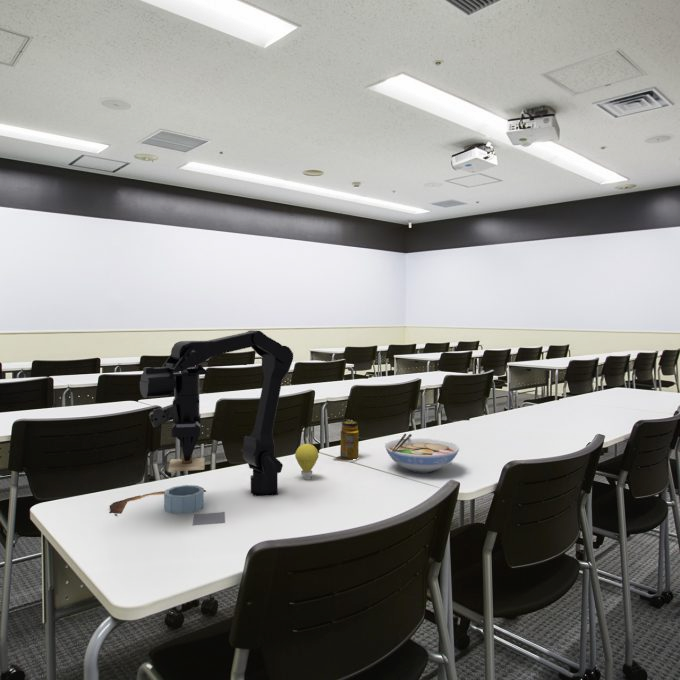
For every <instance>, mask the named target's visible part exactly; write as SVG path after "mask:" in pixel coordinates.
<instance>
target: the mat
mask: <svg viewBox="0 0 680 680" xmlns="http://www.w3.org/2000/svg"><path fill="white" fill-rule="evenodd" d="M216 524H218V525H219V524H226V513H225V511H222V512H221V511H220V512H219V511H218V512H207V513H205V512H203V513H194V514H193V518H192V524H191V525H192V526H203V525H216Z"/></svg>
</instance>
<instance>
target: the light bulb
mask: <svg viewBox="0 0 680 680" xmlns="http://www.w3.org/2000/svg"><path fill="white" fill-rule="evenodd" d="M294 454H295V455H294V456H295V459H296V461H297V464H298V465H299V466H300V468H301V472H300V473H301V474H300V475H301V476H302V480H311V479H312V476H313V470H312V469H313V468H314V466H315V464H316V463H317V461H318V459H319V451H318V449H317V448H316V446H314V445H313V444H311V443H304V444H301V445H299V446H298V448H297V449H296V451H295V453H294Z"/></svg>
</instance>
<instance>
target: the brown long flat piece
mask: <svg viewBox="0 0 680 680" xmlns="http://www.w3.org/2000/svg"><path fill="white" fill-rule="evenodd" d="M205 492H207V490H206V489H204V493H205ZM164 493H165V490H164V491H162V490H161V491H154V492H151V493H146V494H143V495H135V496H132V497H127V498H125V499H121V500H118V501H114V502H112V503H111V504H110V505H109V508H110V509H109V512H108V513H109V514H114V515H115V516H116V517H119V515H122V513H123V511H124V509H125V508H126V506H127V504H128V503H129V502H133V501H137V500H141V499H143V498H147V497H149V496H156V495H157V496H159V495H164ZM118 514H119V515H118Z"/></svg>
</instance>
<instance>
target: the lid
mask: <svg viewBox="0 0 680 680" xmlns="http://www.w3.org/2000/svg"><path fill="white" fill-rule="evenodd" d="M201 470H202V471H203V470H205V457H196V458H195V457H193V454H192V455H191V458H190V460H189V461H185V460H184V455H183V451H182V450H181V458H176V459H175V458H174V459H170V460H169V465H168V472H170V473H171V472H184V471H185V472H186V471H187V472H188V471H201Z"/></svg>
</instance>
